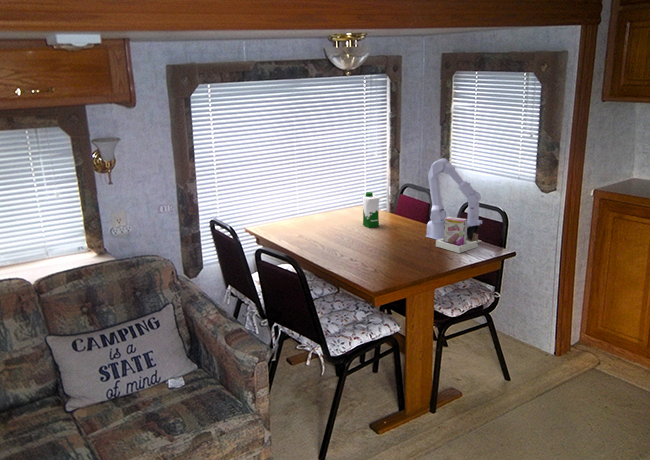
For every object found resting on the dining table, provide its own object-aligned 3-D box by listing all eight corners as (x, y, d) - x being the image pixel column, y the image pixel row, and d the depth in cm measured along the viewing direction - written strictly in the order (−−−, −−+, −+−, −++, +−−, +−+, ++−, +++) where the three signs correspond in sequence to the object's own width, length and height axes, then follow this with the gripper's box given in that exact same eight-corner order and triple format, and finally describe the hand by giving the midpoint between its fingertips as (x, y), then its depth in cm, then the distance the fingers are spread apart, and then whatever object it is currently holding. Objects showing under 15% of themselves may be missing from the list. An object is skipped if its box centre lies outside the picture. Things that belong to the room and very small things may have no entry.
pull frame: (435, 246, 320) (436, 237, 319) (464, 237, 335) (465, 228, 334) (459, 253, 309) (459, 244, 308) (487, 243, 324) (488, 234, 323)
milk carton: (373, 223, 366) (373, 191, 361) (381, 226, 359) (381, 194, 353) (360, 225, 362) (360, 192, 357) (368, 228, 355) (369, 195, 349)
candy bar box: (442, 248, 318) (443, 218, 313) (445, 245, 322) (447, 216, 317) (463, 251, 312) (464, 221, 308) (466, 248, 317) (467, 218, 312)
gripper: (470, 218, 316) (469, 243, 319) (487, 213, 324) (485, 237, 328) (460, 216, 321) (458, 240, 325) (476, 211, 330) (475, 235, 333)
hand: (471, 238), depth 327 cm, fingers closed on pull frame, 2 cm apart
